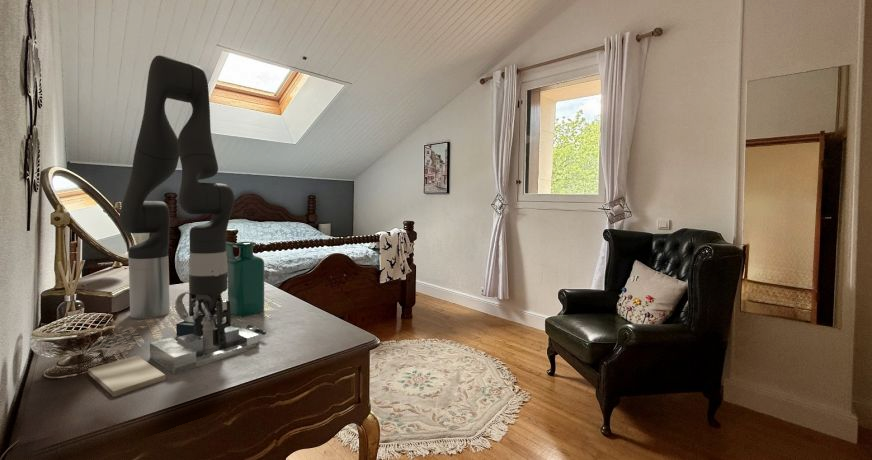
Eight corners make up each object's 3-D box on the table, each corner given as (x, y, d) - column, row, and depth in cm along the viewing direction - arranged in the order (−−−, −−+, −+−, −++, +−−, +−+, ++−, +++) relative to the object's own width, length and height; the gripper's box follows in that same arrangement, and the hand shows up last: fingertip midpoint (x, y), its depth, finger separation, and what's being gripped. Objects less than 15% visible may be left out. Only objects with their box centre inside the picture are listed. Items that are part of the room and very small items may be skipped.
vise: (150, 358, 82) (149, 338, 82) (245, 331, 100) (245, 315, 99) (174, 374, 75) (174, 353, 75) (271, 342, 93) (271, 325, 93)
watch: (200, 337, 94) (199, 295, 93) (170, 335, 95) (169, 293, 94) (214, 329, 100) (214, 289, 99) (186, 327, 100) (185, 287, 99)
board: (88, 373, 74) (88, 368, 74) (137, 360, 81) (137, 355, 81) (113, 396, 67) (113, 391, 66) (165, 379, 73) (165, 374, 73)
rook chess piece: (204, 347, 89) (204, 314, 88) (224, 347, 89) (223, 314, 88) (194, 355, 84) (193, 321, 84) (214, 355, 85) (214, 321, 84)
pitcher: (252, 306, 121) (252, 239, 119) (266, 311, 116) (267, 241, 114) (220, 313, 113) (220, 241, 111) (234, 319, 108) (234, 244, 106)
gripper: (175, 269, 86) (177, 337, 87) (206, 278, 78) (207, 353, 79) (210, 264, 92) (211, 328, 93) (241, 273, 84) (242, 342, 86)
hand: (209, 340), depth 86 cm, fingers open, 8 cm apart
